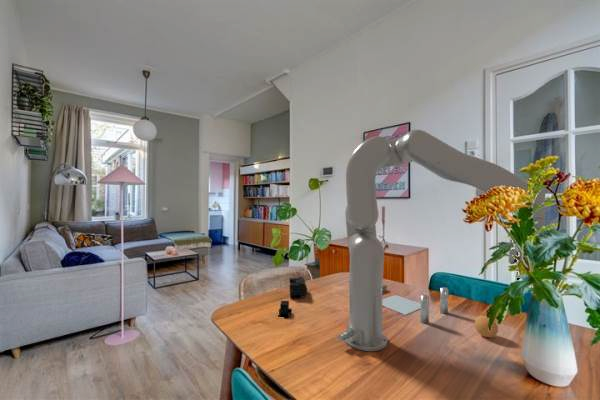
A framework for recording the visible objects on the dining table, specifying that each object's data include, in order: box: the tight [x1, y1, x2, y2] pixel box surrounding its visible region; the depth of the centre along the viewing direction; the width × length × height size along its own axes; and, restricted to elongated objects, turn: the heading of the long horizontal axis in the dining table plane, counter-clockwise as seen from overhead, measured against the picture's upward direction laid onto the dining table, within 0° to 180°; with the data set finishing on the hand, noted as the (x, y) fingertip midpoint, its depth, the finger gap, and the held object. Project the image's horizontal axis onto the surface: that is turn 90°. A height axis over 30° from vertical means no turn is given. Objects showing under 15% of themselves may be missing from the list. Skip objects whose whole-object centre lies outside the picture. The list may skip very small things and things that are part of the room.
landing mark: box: [382, 294, 421, 316], centre depth 108 cm, size 14×14×1 cm
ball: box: [474, 315, 499, 338], centre depth 84 cm, size 6×6×6 cm
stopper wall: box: [382, 283, 388, 293], centre depth 119 cm, size 18×2×2 cm, turn 126°
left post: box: [420, 294, 430, 325], centre depth 93 cm, size 3×3×9 cm
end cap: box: [289, 276, 308, 300], centre depth 118 cm, size 10×7×7 cm
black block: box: [277, 300, 293, 319], centre depth 100 cm, size 12×7×5 cm, turn 179°
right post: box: [439, 286, 449, 315], centre depth 100 cm, size 3×3×9 cm
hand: (525, 289), depth 76 cm, fingers closed
